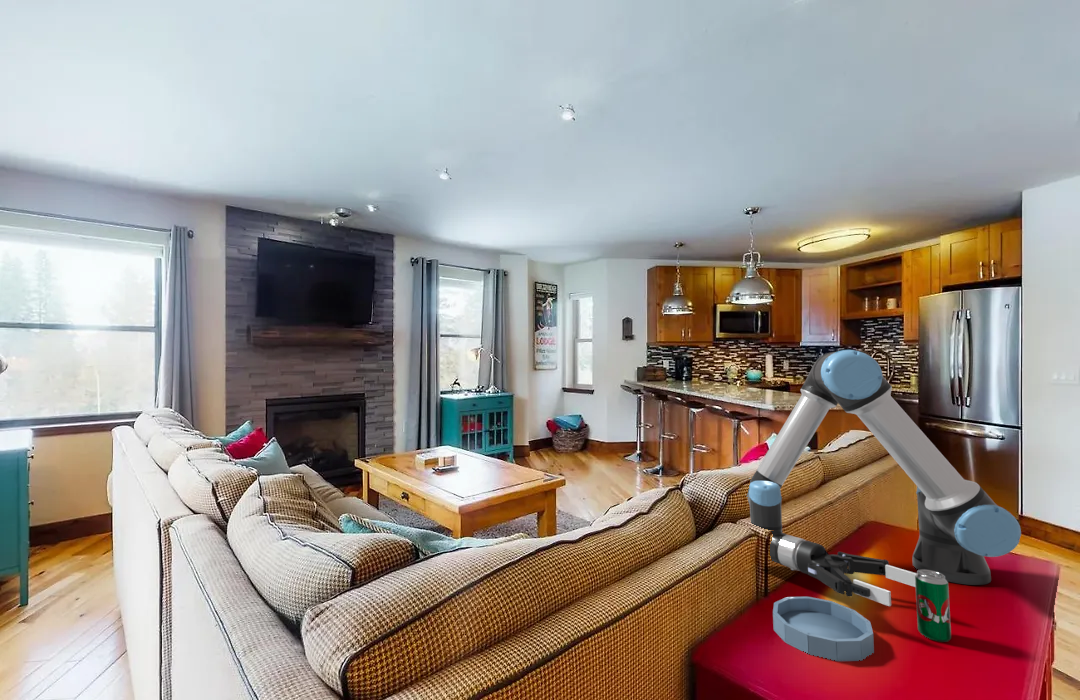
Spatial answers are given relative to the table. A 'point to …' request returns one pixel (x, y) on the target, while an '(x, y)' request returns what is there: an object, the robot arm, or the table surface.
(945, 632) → the soda can
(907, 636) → the table surface
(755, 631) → the table surface
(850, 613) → the bowl
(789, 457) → the robot arm
